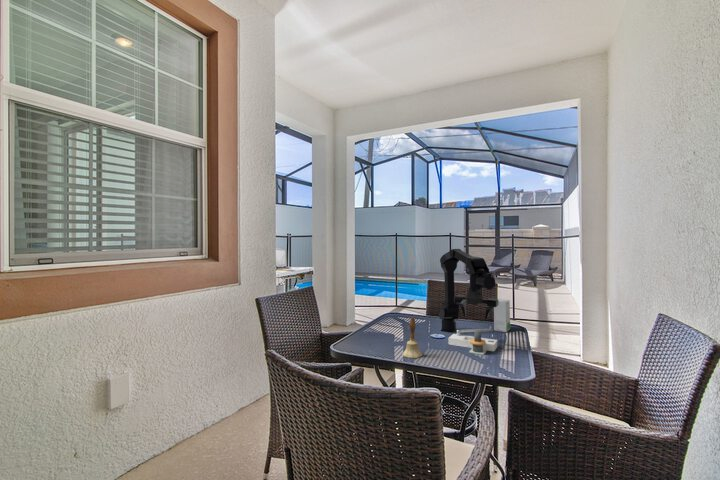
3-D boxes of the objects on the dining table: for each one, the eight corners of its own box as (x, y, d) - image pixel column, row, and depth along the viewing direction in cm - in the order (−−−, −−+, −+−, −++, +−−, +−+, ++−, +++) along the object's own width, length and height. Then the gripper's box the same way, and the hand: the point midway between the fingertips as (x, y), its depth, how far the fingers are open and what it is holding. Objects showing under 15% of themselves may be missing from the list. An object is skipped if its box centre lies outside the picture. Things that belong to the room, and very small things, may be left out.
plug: (468, 351, 150) (468, 333, 150) (472, 347, 156) (472, 329, 155) (483, 354, 147) (483, 335, 147) (487, 349, 152) (487, 331, 152)
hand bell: (405, 350, 154) (405, 314, 153) (424, 353, 150) (423, 316, 150) (400, 356, 146) (399, 318, 146) (419, 359, 143) (419, 320, 142)
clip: (457, 332, 164) (457, 328, 164) (455, 331, 166) (455, 327, 166) (492, 331, 166) (492, 327, 166) (490, 330, 168) (490, 326, 168)
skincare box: (506, 332, 180) (506, 302, 180) (493, 330, 184) (492, 300, 184) (510, 329, 186) (510, 299, 186) (497, 327, 190) (497, 298, 190)
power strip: (448, 344, 162) (448, 335, 162) (453, 340, 168) (453, 331, 168) (494, 351, 151) (494, 341, 151) (497, 346, 158) (497, 337, 158)
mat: (469, 352, 150) (469, 351, 150) (472, 348, 155) (472, 347, 155) (483, 355, 147) (483, 354, 147) (486, 350, 152) (486, 349, 152)
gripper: (450, 286, 158) (449, 320, 158) (493, 290, 148) (493, 326, 148) (457, 282, 167) (457, 315, 168) (499, 286, 157) (498, 320, 158)
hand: (475, 319), depth 160 cm, fingers open, 9 cm apart
